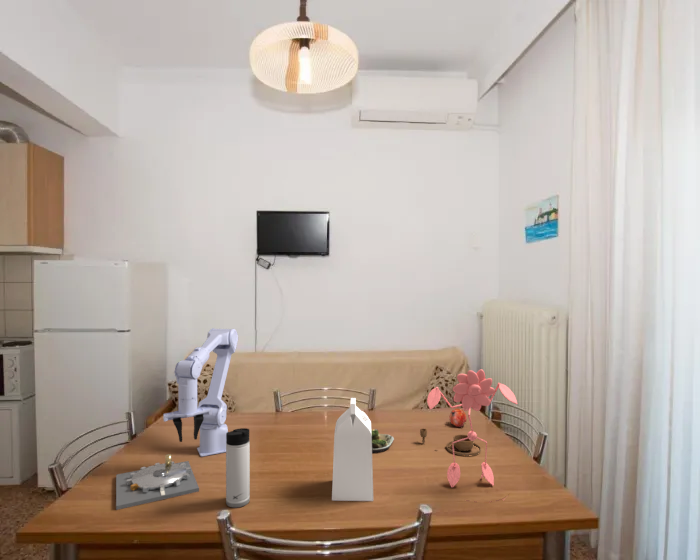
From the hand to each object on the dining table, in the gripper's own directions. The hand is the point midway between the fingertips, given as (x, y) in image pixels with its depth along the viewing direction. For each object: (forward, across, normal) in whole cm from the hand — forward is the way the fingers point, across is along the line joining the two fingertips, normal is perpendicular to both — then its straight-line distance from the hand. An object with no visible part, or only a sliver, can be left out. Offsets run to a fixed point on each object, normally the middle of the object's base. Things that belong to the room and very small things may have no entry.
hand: (188, 439), depth 139 cm
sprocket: (+8, -9, -6) cm, 13 cm away
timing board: (+9, -10, -7) cm, 15 cm away
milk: (+10, +40, -38) cm, 56 cm away
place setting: (+10, +88, -27) cm, 93 cm away
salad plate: (+10, +62, -10) cm, 64 cm away
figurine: (+10, +71, -54) cm, 90 cm away
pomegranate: (+10, +105, -11) cm, 106 cm away
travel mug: (+10, +9, -29) cm, 32 cm away
